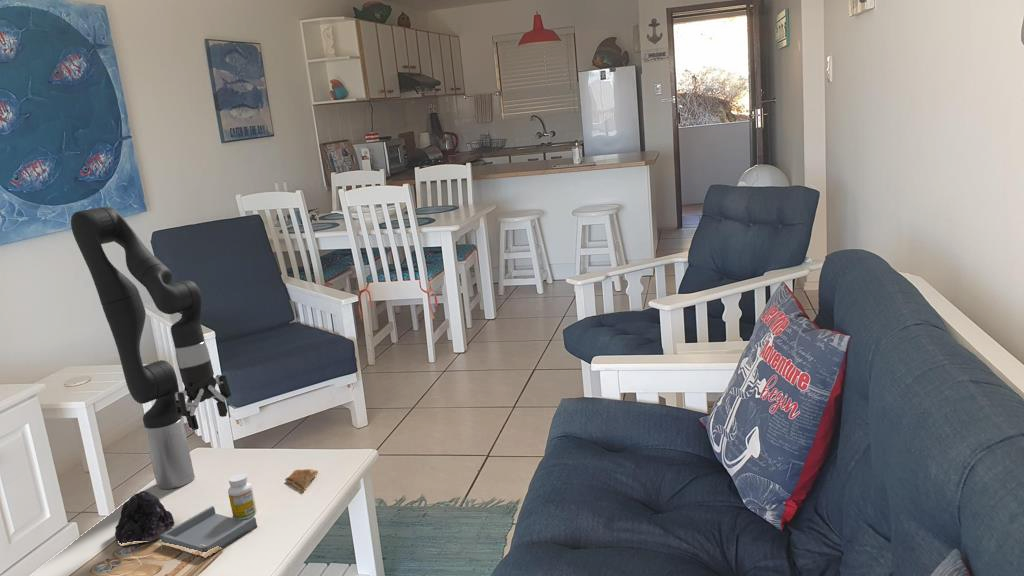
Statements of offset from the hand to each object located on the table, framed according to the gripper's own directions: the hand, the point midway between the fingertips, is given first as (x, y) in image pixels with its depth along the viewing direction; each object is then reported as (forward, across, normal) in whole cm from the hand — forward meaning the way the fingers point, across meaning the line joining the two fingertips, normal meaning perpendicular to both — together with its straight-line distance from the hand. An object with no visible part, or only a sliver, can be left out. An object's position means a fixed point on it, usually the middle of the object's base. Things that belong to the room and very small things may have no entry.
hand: (209, 422), depth 198 cm
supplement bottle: (+20, +7, +15) cm, 26 cm away
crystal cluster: (+19, +22, -2) cm, 29 cm away
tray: (+20, +17, +15) cm, 30 cm away
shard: (+21, -12, +16) cm, 29 cm away
